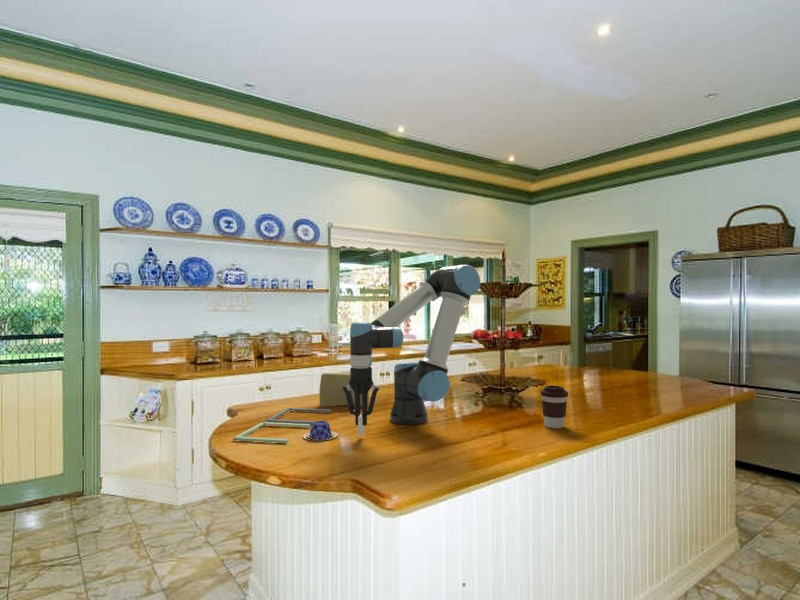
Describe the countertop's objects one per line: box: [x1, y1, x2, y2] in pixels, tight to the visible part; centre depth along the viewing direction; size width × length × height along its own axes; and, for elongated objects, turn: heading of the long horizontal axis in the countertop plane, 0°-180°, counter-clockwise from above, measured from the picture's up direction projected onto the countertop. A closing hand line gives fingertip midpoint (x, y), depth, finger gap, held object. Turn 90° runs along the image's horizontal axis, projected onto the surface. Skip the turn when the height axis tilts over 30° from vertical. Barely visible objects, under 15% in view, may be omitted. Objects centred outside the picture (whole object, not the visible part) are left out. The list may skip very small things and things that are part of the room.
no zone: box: [265, 407, 332, 426], centre depth 191 cm, size 20×21×1 cm
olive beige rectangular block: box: [319, 371, 370, 407], centre depth 215 cm, size 22×10×15 cm, turn 106°
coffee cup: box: [540, 385, 569, 430], centre depth 176 cm, size 10×10×15 cm
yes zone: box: [232, 421, 311, 444], centre depth 167 cm, size 20×21×1 cm
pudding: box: [302, 420, 339, 441], centre depth 164 cm, size 12×12×5 cm
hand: (361, 434), depth 161 cm, fingers closed
